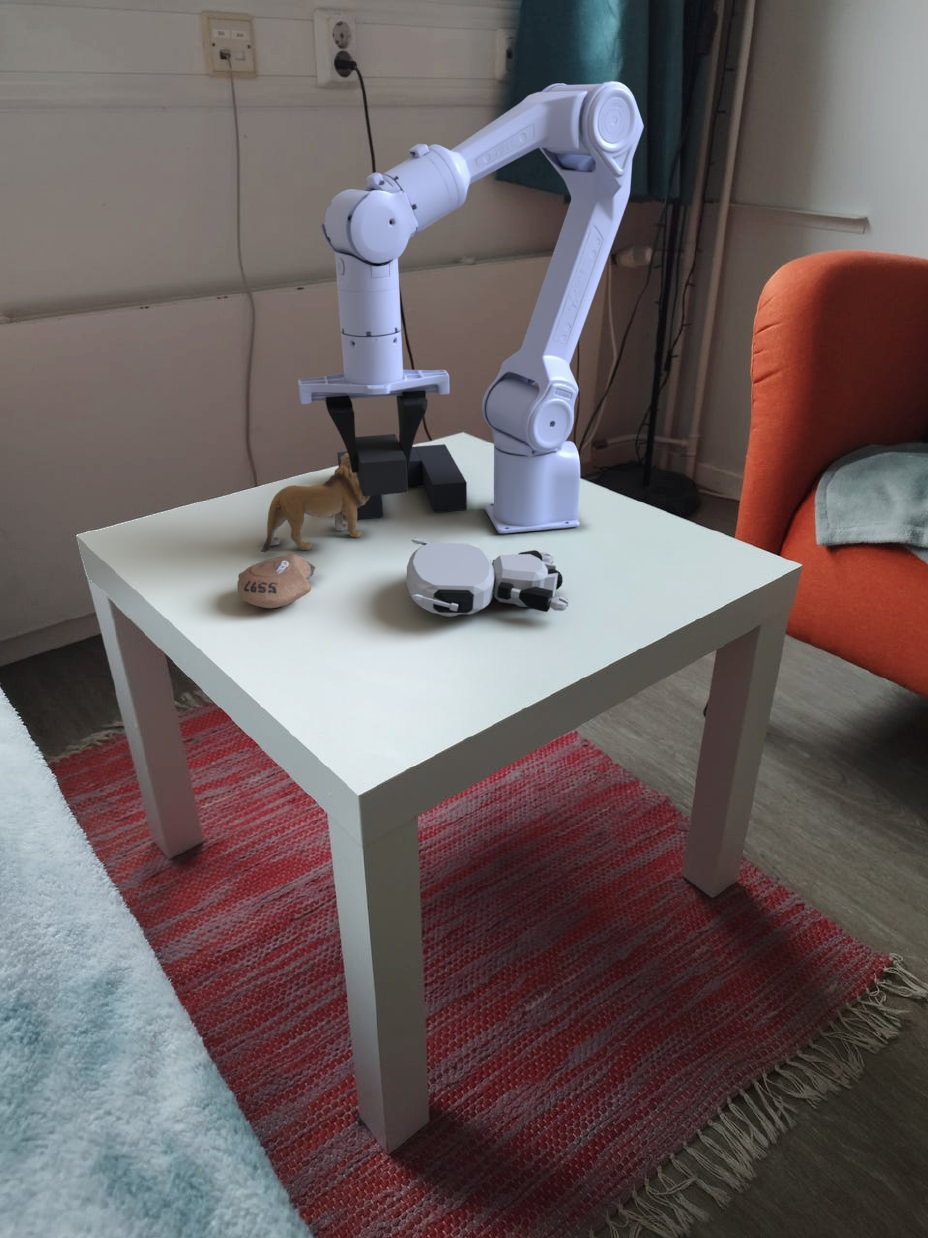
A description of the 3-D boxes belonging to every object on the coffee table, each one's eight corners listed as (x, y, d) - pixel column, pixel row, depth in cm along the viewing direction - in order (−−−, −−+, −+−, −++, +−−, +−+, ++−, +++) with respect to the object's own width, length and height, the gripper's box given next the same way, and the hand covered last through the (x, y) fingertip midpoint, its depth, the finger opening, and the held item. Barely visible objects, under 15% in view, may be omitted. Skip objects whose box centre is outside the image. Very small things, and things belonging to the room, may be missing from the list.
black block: (396, 465, 96) (395, 433, 95) (408, 492, 90) (406, 459, 88) (354, 468, 96) (352, 436, 94) (362, 496, 89) (360, 462, 87)
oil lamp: (339, 608, 88) (308, 577, 94) (340, 570, 86) (309, 541, 92) (249, 621, 84) (223, 588, 90) (249, 582, 82) (223, 550, 88)
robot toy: (550, 577, 94) (405, 572, 92) (555, 537, 91) (406, 532, 90) (569, 637, 83) (405, 633, 82) (575, 594, 81) (407, 589, 79)
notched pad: (445, 469, 119) (445, 443, 117) (466, 509, 107) (466, 482, 105) (339, 477, 117) (337, 451, 115) (349, 520, 105) (346, 491, 103)
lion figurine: (363, 514, 106) (358, 440, 102) (389, 528, 103) (385, 452, 98) (251, 549, 98) (240, 470, 94) (275, 565, 95) (264, 484, 90)
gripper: (295, 344, 81) (309, 487, 87) (454, 334, 83) (456, 474, 90) (292, 327, 87) (306, 462, 93) (440, 319, 89) (443, 451, 96)
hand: (379, 467), depth 92 cm, fingers closed on black block, 4 cm apart
